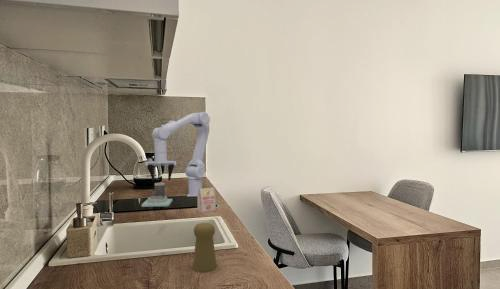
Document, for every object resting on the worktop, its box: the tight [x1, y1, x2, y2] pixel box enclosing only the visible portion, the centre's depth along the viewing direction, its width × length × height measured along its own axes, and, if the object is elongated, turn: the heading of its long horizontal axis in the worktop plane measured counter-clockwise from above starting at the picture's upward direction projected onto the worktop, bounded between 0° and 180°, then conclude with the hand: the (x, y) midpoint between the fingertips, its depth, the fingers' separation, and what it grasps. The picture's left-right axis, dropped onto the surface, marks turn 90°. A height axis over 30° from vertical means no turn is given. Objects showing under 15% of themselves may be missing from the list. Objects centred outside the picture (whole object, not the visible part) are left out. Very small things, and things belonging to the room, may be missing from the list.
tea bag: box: [196, 186, 217, 214], centre depth 146 cm, size 4×7×10 cm, turn 118°
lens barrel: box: [154, 182, 166, 196], centre depth 173 cm, size 5×5×8 cm
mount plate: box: [141, 198, 174, 208], centre depth 162 cm, size 12×12×1 cm
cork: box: [192, 222, 218, 273], centre depth 86 cm, size 6×6×11 cm
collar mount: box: [147, 195, 168, 204], centre depth 162 cm, size 9×9×2 cm
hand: (161, 180), depth 167 cm, fingers open, 7 cm apart
